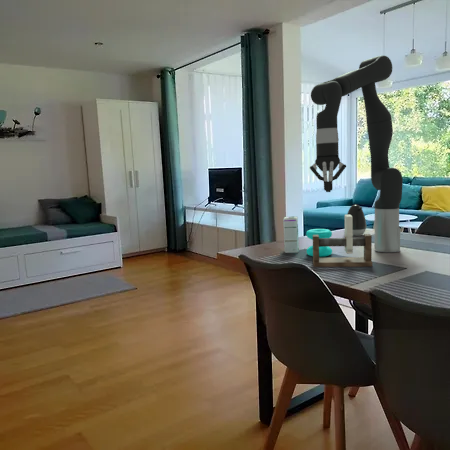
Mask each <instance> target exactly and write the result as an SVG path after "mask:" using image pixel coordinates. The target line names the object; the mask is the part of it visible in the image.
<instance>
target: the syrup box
mask: <svg viewBox="0 0 450 450" xmlns="http://www.w3.org/2000/svg"><path fill="white" fill-rule="evenodd" d="M282 220H283V221H282V222H283V223H282V224H283V247H284V249H283V251H284V253H287V254H298V253H299V250H300V248H299V247H300V245H299V244H300V243H299V222H298V221H299V217H298V216H284V217H283V219H282Z"/></svg>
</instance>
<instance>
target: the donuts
mask: <svg viewBox="0 0 450 450" xmlns="http://www.w3.org/2000/svg"><path fill="white" fill-rule="evenodd" d="M305 233H306V234H305V235H306V237H307V238H308V239H310V240H312V241H313V235H319V238H332V236H333V232H332V231H331V230H330V229H328V228H327V229H326V228H313V229H309V230H308V229H307V231H306V232H305ZM306 254H307V255H308V256H310V257H313V245H310V246H309V247H308V248H306ZM332 254H333V249H332V248H331V246H325V247H319V258H326V257H330V256H331V255H332Z"/></svg>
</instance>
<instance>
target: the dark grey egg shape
mask: <svg viewBox="0 0 450 450" xmlns="http://www.w3.org/2000/svg"><path fill="white" fill-rule="evenodd" d="M346 215H351V216H352V223H353V237H360V236H362V235H363V236H364V234H365V233H366V229H367V220H366V217H365V213H364V211H363V207H362V206H360V205H359V204H353V205H350V207H349V209H348V211H347V213H346Z"/></svg>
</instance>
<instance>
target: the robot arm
mask: <svg viewBox="0 0 450 450" xmlns="http://www.w3.org/2000/svg"><path fill="white" fill-rule="evenodd" d="M392 73H393V63H392V60H391V58H390V57H389V56H387V55H377V56H374V57H371V58H367V59H365V60H362V61H361V62H360V64H359V66H358V68H357V69H354V70H351V71H348V72H345V73H343V74H341V75H339V76H337V77H335V78H333V79H330V80H326V81H324V82H320V83H318V84H315V85H314V86H313V87H312V90H311V91H310V98H311V99H310V100H311V102H313V103H314V104H315V105H318V106H323V105H325V106H324V109H323V110H321V111H319V112H318V113H317V114H316V119H315V121H316V134H315V143H316V145H315V147H316V149H315V152H316V154H315V155H316V158H315V161H314V163H313V164H312V165H311V166H309V169H310V170H311V172H312V173H313V174H314V175H315V176H316V178H317V179H318V180H319V181H321V182H323V190H324V192H325V193H331V191H333V181H335V180H337V179H339V177H340V176H341V174H342V173H343V172H344V171H345V169H346V168H347V165H346V164H344V163H343V162H341V159H340V157H339V156H340V155H339V151H340V150H339V131H338V115H339V111H340V106H341V102H342V98H343V97H345V96H347V95H349V94H352V93H353V92H355V91H358V90H359V89H360V88H361V93H362V96H363V103H364V110H365V118H366V130H367V135H368V143H369V145H368V147H369V153H370V179H371V184H372V187H373V188H375V190H378V191H379V197H378V199H376V200H375V201H374V251H375V252H379V253H397V252H401V227H400V204H401V202H402V198H403V184H404V183H403V182H404V181H403V175H402V173H401V171H400V170H399V169H398V168H396V167H390V162H389V151H390V150H389V149H390V146H391V142H392V139H393V136H394V135H393V134H394V131H393V130H394V129H393V128H394V127H393V122H392V121H393V120H392V115H391V113H390V111H389V109H388V108H387V106H385V104H384V103H383V102H382V101H381V98H380V97H379V95H378V93H377V88H376V83H379V82H383V81H385V80H387V79H388V78H390V76H391V75H392ZM337 167H338V170H337V172H336V173H335V174H334V171H335V170H336V168H337ZM317 169H319V170H320V172H322V176H321V174H320V173H319V172H318V171H317ZM333 175H334V176H333Z"/></svg>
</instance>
